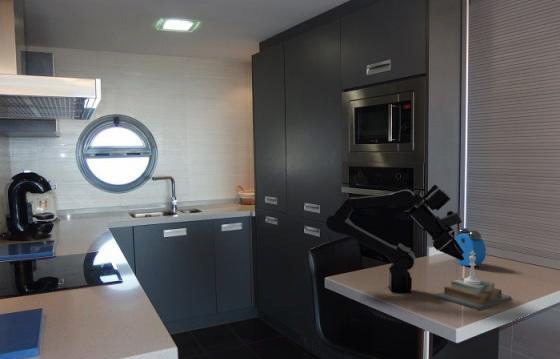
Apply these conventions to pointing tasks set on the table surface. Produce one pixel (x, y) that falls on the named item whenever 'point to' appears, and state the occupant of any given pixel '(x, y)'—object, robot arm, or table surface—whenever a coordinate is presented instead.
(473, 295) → the stacked blocks
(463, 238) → the alarm clock
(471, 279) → the chess piece
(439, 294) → the baseplate
